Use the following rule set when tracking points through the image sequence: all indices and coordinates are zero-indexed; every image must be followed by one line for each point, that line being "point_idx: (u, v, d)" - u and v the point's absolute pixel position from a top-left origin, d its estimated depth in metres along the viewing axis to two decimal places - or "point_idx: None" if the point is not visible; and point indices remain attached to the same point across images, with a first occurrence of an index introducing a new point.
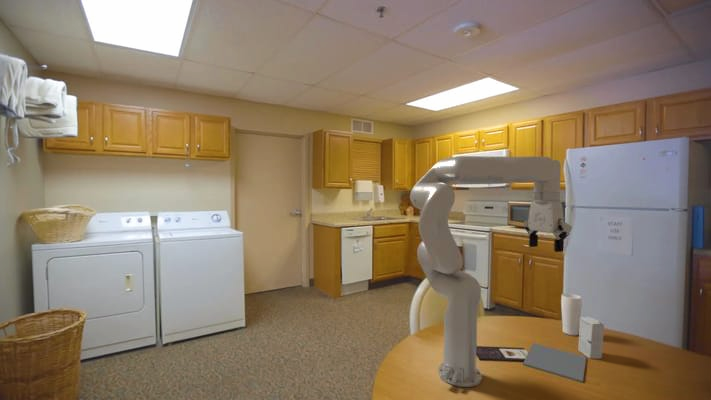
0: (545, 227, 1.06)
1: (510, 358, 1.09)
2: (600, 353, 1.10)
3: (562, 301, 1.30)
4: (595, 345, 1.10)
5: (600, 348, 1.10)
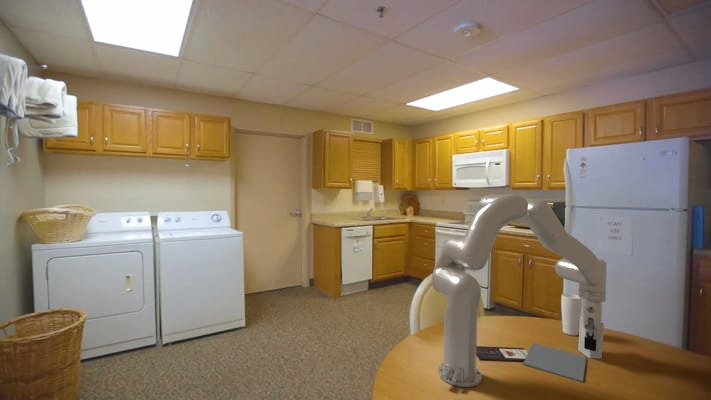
0: None
1: (510, 358, 1.09)
2: (600, 353, 1.10)
3: (562, 301, 1.30)
4: None
5: (600, 348, 1.10)
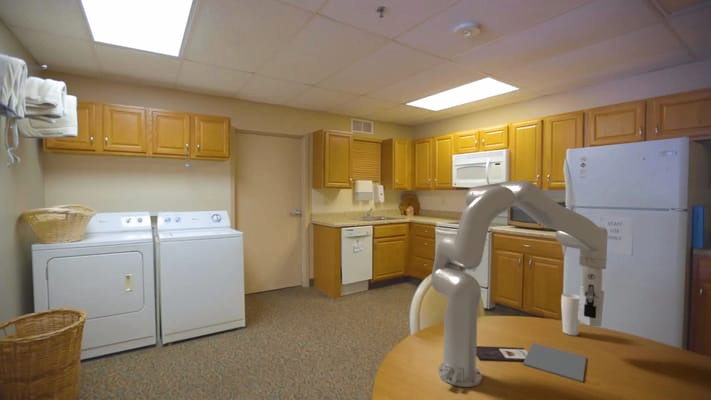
0: None
1: (510, 358, 1.09)
2: (600, 321, 1.10)
3: (562, 301, 1.30)
4: None
5: (599, 315, 1.10)
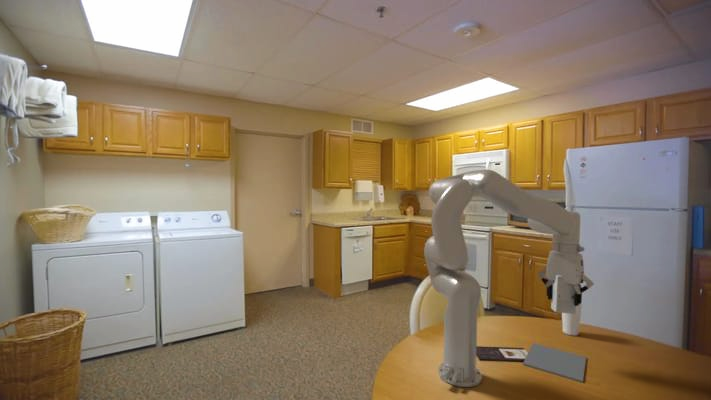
0: None
1: (510, 358, 1.09)
2: None
3: None
4: None
5: None
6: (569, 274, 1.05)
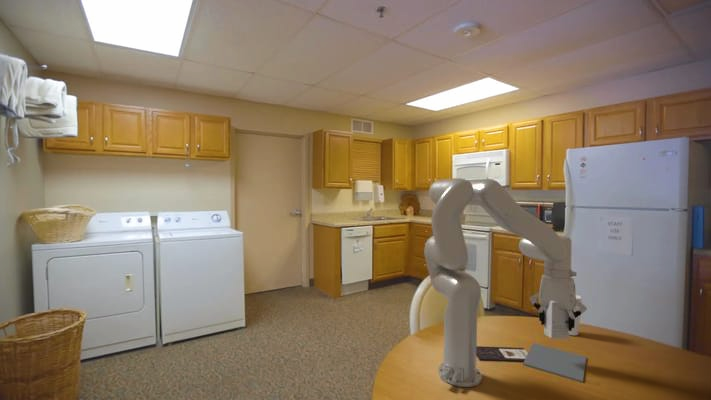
0: None
1: (510, 358, 1.09)
2: None
3: None
4: None
5: None
6: (563, 300, 1.05)
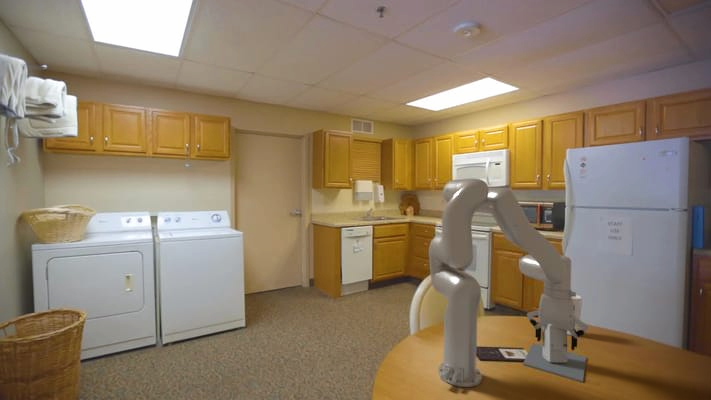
0: None
1: (510, 358, 1.09)
2: None
3: None
4: None
5: None
6: (563, 320, 1.05)
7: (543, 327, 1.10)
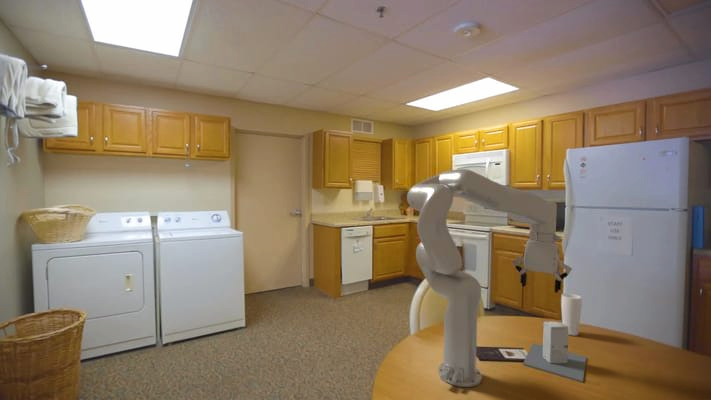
0: None
1: (510, 358, 1.09)
2: None
3: (562, 301, 1.30)
4: None
5: None
6: (547, 263, 1.06)
7: (544, 328, 1.09)
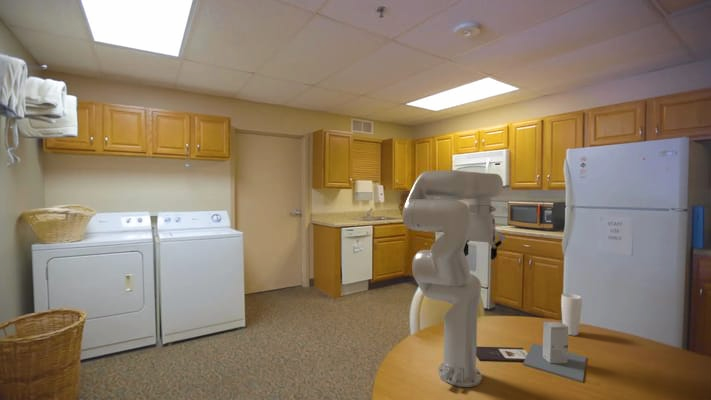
0: None
1: (510, 358, 1.09)
2: None
3: (562, 301, 1.30)
4: None
5: None
6: (483, 232, 1.16)
7: (544, 328, 1.09)
